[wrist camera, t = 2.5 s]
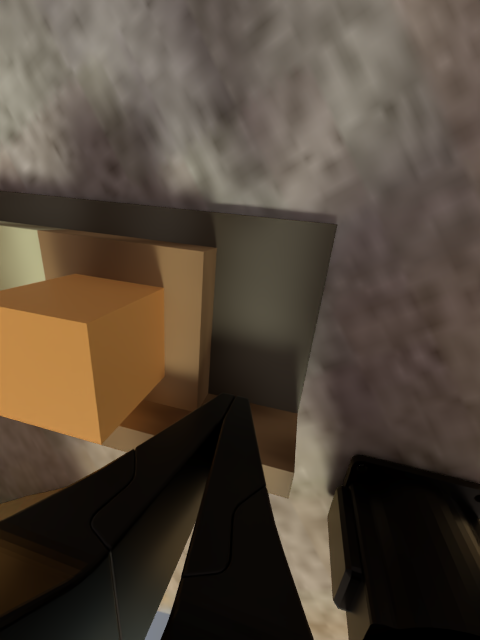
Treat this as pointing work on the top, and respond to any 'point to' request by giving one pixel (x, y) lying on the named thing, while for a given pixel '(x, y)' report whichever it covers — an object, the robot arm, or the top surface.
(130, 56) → the top surface
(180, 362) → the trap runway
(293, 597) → the robot arm
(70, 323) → the block
